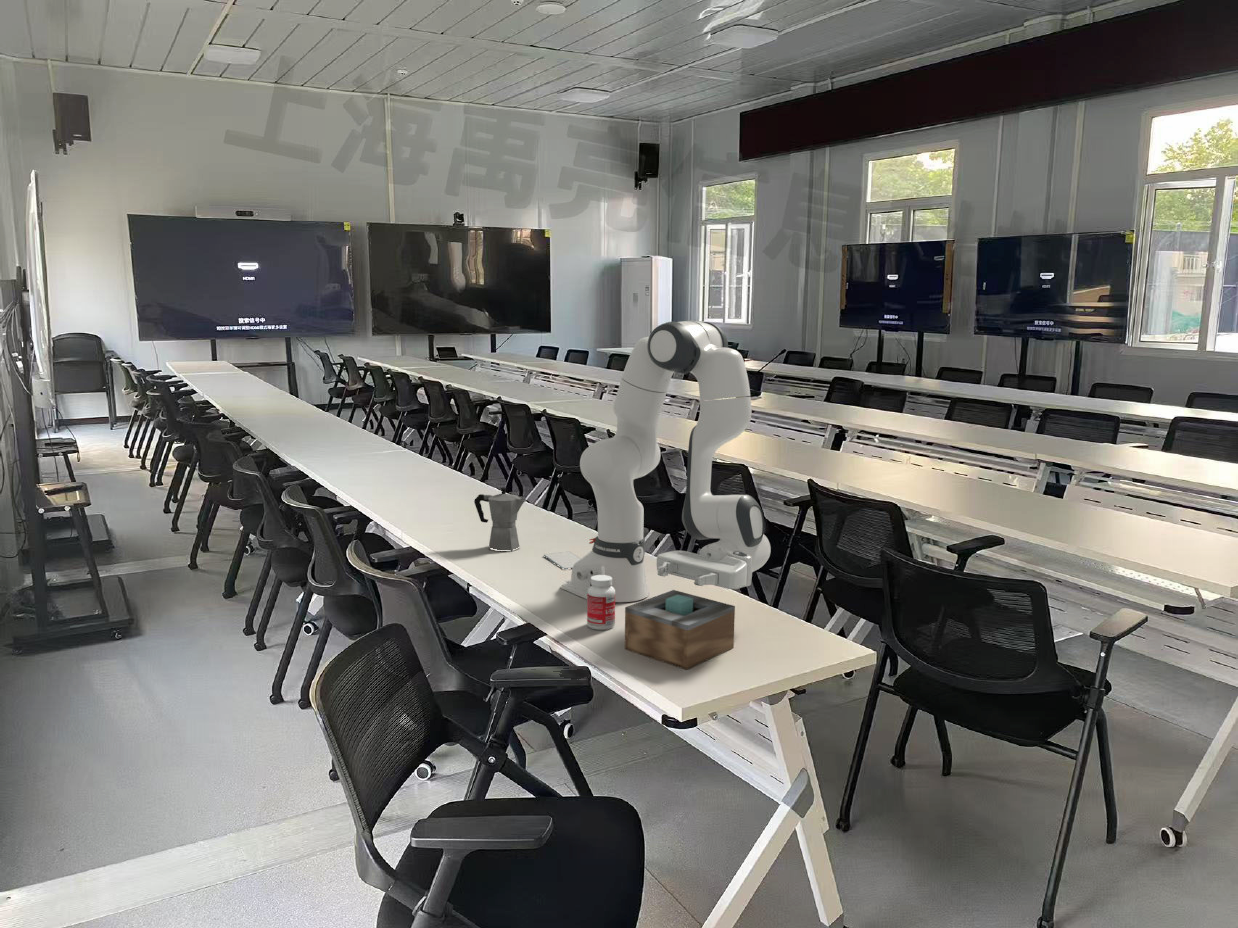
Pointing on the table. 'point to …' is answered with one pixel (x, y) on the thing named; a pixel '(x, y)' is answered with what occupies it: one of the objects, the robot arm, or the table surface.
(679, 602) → the block
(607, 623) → the pill bottle
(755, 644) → the table surface
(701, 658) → the drop box
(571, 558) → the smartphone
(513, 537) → the coffeepot
